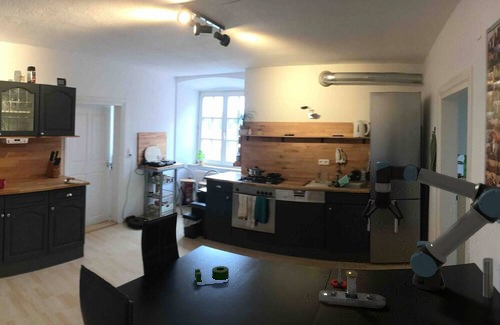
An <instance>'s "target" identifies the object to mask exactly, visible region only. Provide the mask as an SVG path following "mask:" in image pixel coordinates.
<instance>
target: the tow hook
mask: <svg viewBox="0 0 500 325" xmlns="http://www.w3.org/2000/svg"><path fill="white" fill-rule="evenodd" d="M330 284H331V285H332V287H333V288H339V289H340V288H345V289H347V281H345V280H342V266H341V262H339V263H338V277H337V279H331V280H330Z"/></svg>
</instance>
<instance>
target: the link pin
mask: <svg viewBox="0 0 500 325" xmlns="http://www.w3.org/2000/svg"><path fill="white" fill-rule="evenodd" d="M345 275H346V277H347V278H346V279H347V280H346V282H347V285H346V292H347V298H352V299H356V293H357V277H358V275H359V273H358V271H356V270H346V271H345Z"/></svg>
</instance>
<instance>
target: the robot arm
mask: <svg viewBox="0 0 500 325" xmlns="http://www.w3.org/2000/svg"><path fill="white" fill-rule="evenodd" d="M392 181H400V182H416V183H417V182H418V183H420V184H424V185H427V186H430V187H434V188H436V189H439V190H442V191H445V192H449V193H452V194H456V195H459V196H462V197H465V198H468V199H471V201H472V202H471V203H470V204H469V210H468V211H466V212H465V213H464V214H463V215H462V216H460V218H458V219H457V220H455V222H454V223H453V224H452V225H450V226H449V227H448V228H447V229H446V230H444V232H442V233H441V234H440V235H439V236H438V237H437V238H436V239H435V240H433V241H427V240H426V241H425V240H420V241H417V243H416V250H415V251H414V253H413V254H412V255H411V257H410V260H409V266H410V268H411V270H412V271H413V273H414V275H413V277H412V285H413V286H414V285H415V287H416V288H418V289H421V290H425V291H429V292H441V291H440V290H443V289H444V288H445V289H446V282H445V280H444V276H443V273H442V269H443V265H445V264H446V263H447V257H449V256H450V255H451V254H452V253H454V252H455V251H456V250H457V249H458V248H459V247H460V246H462V245H463V244H465V242H467V241H468V240H469V239H470V238H472V236H474V235H476V233H478V232H479V231H480V230H482V228H484V227H485V226H486V225H487V224H491V225H492V224H494V223H496V222H497V221H499V219H500V186H495V185H492V184H491V185H489V184H486V183H482V182H478V183H474V182H472V181H468V180H465V179H464V180H463V179H461V178H457V177H453V176H450V175H447V174H443V173H439V172H436V171H433V170H430V169H426V168H422V167H420V166H419V167H418V166H416V165H415V164H411V163H409V164H406V165H405V164H404V165H392V162H391V161H383V160H382V161H377V162H376V163H375V187H374V188H375V189H374V190H375V193H374V199H368V203H367V205H366V207H365V208H364V211H363V212H362V214H361V216H362V217H363V218H365V225H367V232H370V231H371V230H370V229H371V226H370V225H371V224H370V223H371V219H370V217H371V216H372V215H373V214H374V213H375V212H376V211H377V210H378V209H379V210H387V209H388V210H389V212H390V213H392V215H393V216H394V217H395V218H394V232H395V233H398V227H399V226H400V225H401V224H400V223H401V220H402V219H404V214H403V213H402V211H401V209H400V207H399V205H398V200H396V199H395V200H394V199H393V200H391V199H392V198H391V196H392V195H391V194H392V192H391V190H392V188H391V187H392V186H391V185H392V184H391V182H392ZM373 204H375V205H374V206H373V208H372V209H370V208H371V206H372V205H373ZM391 205H393V206H394V208H395V209H396V211H397V213H398V214H397V213H396V212H395V211H394V209H393V208H391ZM445 289H444V290H445ZM444 290H443V291H444Z"/></svg>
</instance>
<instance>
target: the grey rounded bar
mask: <svg viewBox="0 0 500 325" xmlns="http://www.w3.org/2000/svg"><path fill="white" fill-rule="evenodd" d="M318 300H319V302H321V303H322V304H326V305H339V306H348V307H359V308H371V309H384V308H385V307H386V298H385V297H384V296H383V295H380V294H375V293H362V292H356V299H352V298H347V291H340V290H327V289H325V290H324V289H323V290H321V291H319V292H318Z"/></svg>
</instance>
